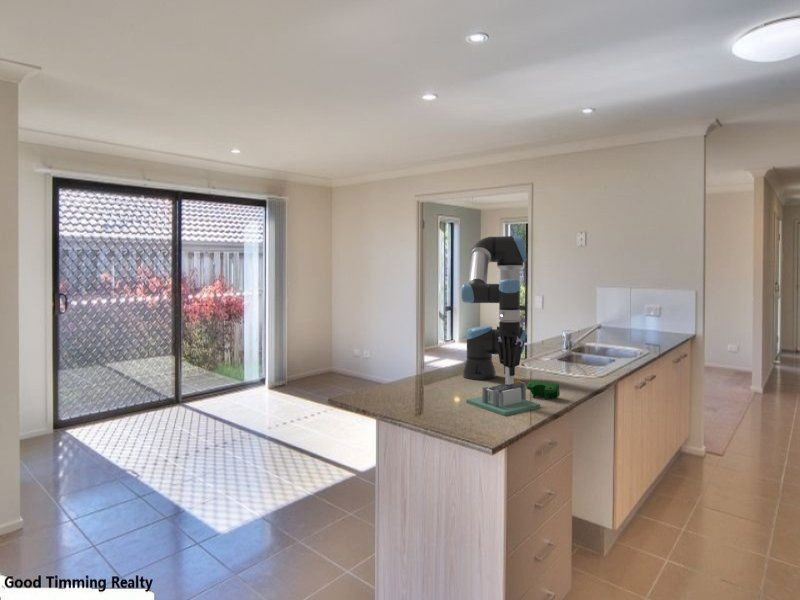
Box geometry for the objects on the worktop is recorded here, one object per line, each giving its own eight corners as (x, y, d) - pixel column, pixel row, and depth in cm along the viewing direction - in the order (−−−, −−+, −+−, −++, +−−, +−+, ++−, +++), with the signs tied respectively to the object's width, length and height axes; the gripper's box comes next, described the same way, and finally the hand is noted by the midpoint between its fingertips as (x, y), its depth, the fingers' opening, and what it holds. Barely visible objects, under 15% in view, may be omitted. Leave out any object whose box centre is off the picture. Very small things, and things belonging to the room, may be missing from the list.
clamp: (532, 407, 198) (521, 386, 198) (538, 400, 202) (528, 380, 202) (557, 401, 190) (546, 380, 190) (564, 394, 194) (553, 373, 194)
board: (501, 395, 199) (502, 376, 199) (540, 407, 183) (541, 386, 182) (466, 402, 190) (466, 383, 189) (504, 415, 173) (504, 394, 172)
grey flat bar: (515, 383, 192) (515, 379, 192) (523, 385, 188) (522, 381, 188) (489, 390, 185) (488, 386, 184) (496, 392, 181) (496, 388, 181)
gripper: (489, 320, 189) (489, 382, 190) (515, 323, 178) (515, 388, 179) (504, 318, 193) (504, 379, 194) (530, 321, 182) (529, 385, 183)
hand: (509, 383), depth 187 cm, fingers closed
